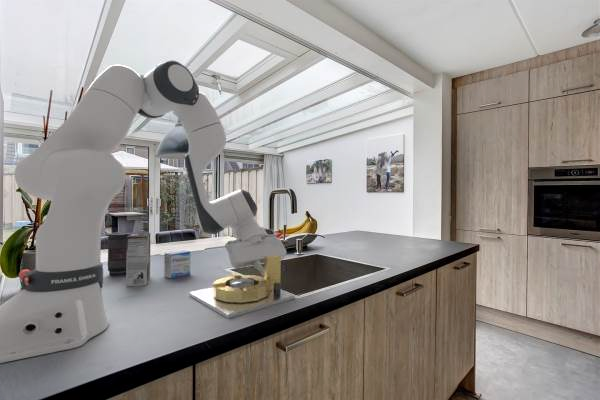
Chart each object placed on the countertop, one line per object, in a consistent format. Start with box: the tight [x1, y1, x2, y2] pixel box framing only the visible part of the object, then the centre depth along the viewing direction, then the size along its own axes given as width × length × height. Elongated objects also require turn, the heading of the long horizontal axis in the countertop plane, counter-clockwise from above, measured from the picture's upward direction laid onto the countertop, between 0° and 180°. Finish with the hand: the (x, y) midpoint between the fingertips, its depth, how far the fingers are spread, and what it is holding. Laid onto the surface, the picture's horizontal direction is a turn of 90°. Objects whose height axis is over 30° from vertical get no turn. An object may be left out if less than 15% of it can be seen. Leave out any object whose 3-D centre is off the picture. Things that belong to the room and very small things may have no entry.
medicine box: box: [163, 250, 191, 280], centre depth 111 cm, size 8×4×9 cm, turn 143°
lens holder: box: [212, 255, 282, 303], centre depth 89 cm, size 19×16×10 cm
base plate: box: [188, 279, 296, 319], centre depth 89 cm, size 22×22×4 cm
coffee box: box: [125, 232, 151, 288], centre depth 102 cm, size 9×6×16 cm
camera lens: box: [107, 232, 132, 278], centre depth 112 cm, size 8×8×15 cm
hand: (268, 273), depth 96 cm, fingers closed
